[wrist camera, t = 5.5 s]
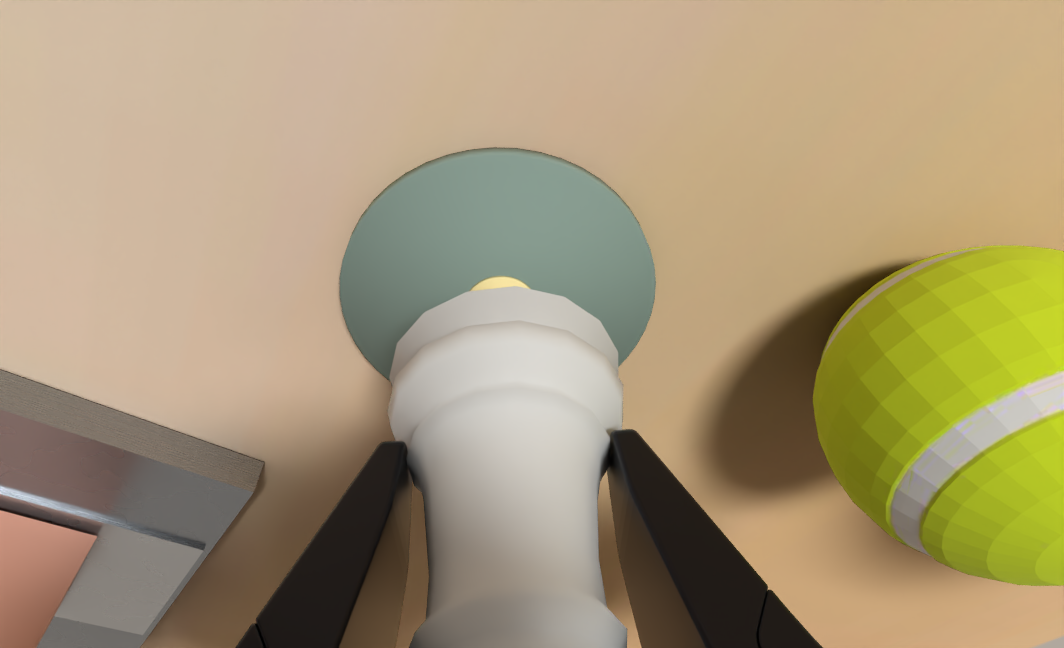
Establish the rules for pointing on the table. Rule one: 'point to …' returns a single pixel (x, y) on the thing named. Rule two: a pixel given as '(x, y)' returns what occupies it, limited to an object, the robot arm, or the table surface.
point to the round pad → (494, 246)
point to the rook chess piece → (510, 467)
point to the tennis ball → (956, 410)
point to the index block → (35, 575)
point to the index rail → (116, 505)
